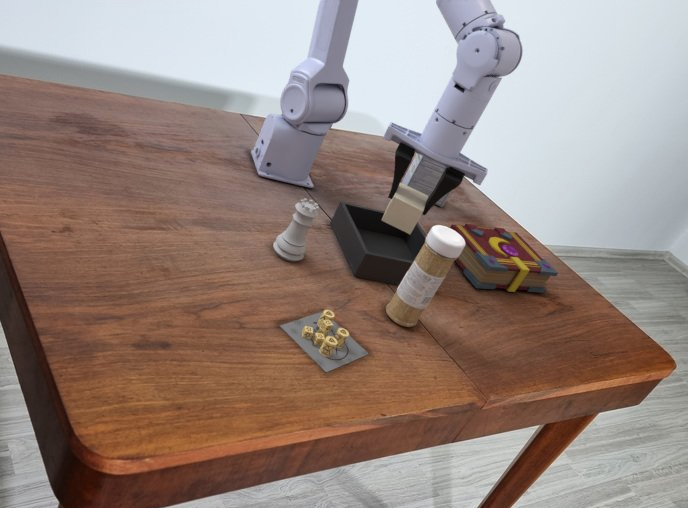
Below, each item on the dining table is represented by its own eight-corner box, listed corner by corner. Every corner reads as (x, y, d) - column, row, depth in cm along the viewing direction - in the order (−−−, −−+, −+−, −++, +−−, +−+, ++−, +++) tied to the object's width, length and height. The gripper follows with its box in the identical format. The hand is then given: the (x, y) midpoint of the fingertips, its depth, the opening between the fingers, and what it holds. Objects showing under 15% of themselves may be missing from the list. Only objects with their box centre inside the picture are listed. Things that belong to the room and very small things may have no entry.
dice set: (322, 320, 86) (328, 308, 85) (351, 347, 83) (358, 335, 82) (294, 329, 82) (300, 317, 81) (324, 358, 80) (331, 346, 79)
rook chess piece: (307, 255, 97) (330, 206, 93) (295, 267, 93) (318, 217, 89) (279, 238, 98) (301, 190, 93) (266, 250, 94) (288, 200, 90)
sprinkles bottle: (403, 305, 96) (452, 224, 88) (422, 328, 93) (474, 246, 85) (378, 305, 93) (425, 222, 86) (396, 329, 90) (447, 245, 83)
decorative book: (437, 244, 114) (452, 219, 112) (507, 252, 122) (523, 229, 120) (475, 290, 107) (492, 264, 104) (547, 295, 115) (565, 271, 112)
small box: (381, 220, 99) (393, 196, 97) (388, 204, 104) (400, 181, 102) (410, 234, 99) (423, 211, 97) (415, 218, 104) (428, 195, 102)
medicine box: (439, 197, 131) (462, 157, 126) (442, 208, 127) (466, 167, 123) (400, 182, 130) (422, 141, 125) (402, 192, 126) (424, 150, 122)
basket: (353, 276, 97) (366, 253, 95) (329, 222, 107) (340, 200, 105) (434, 292, 102) (447, 270, 99) (404, 239, 112) (415, 218, 110)
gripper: (505, 133, 96) (456, 216, 103) (408, 87, 97) (366, 172, 104) (504, 149, 90) (452, 235, 97) (401, 99, 91) (357, 188, 98)
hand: (407, 204), depth 100 cm, fingers closed on small box, 4 cm apart
